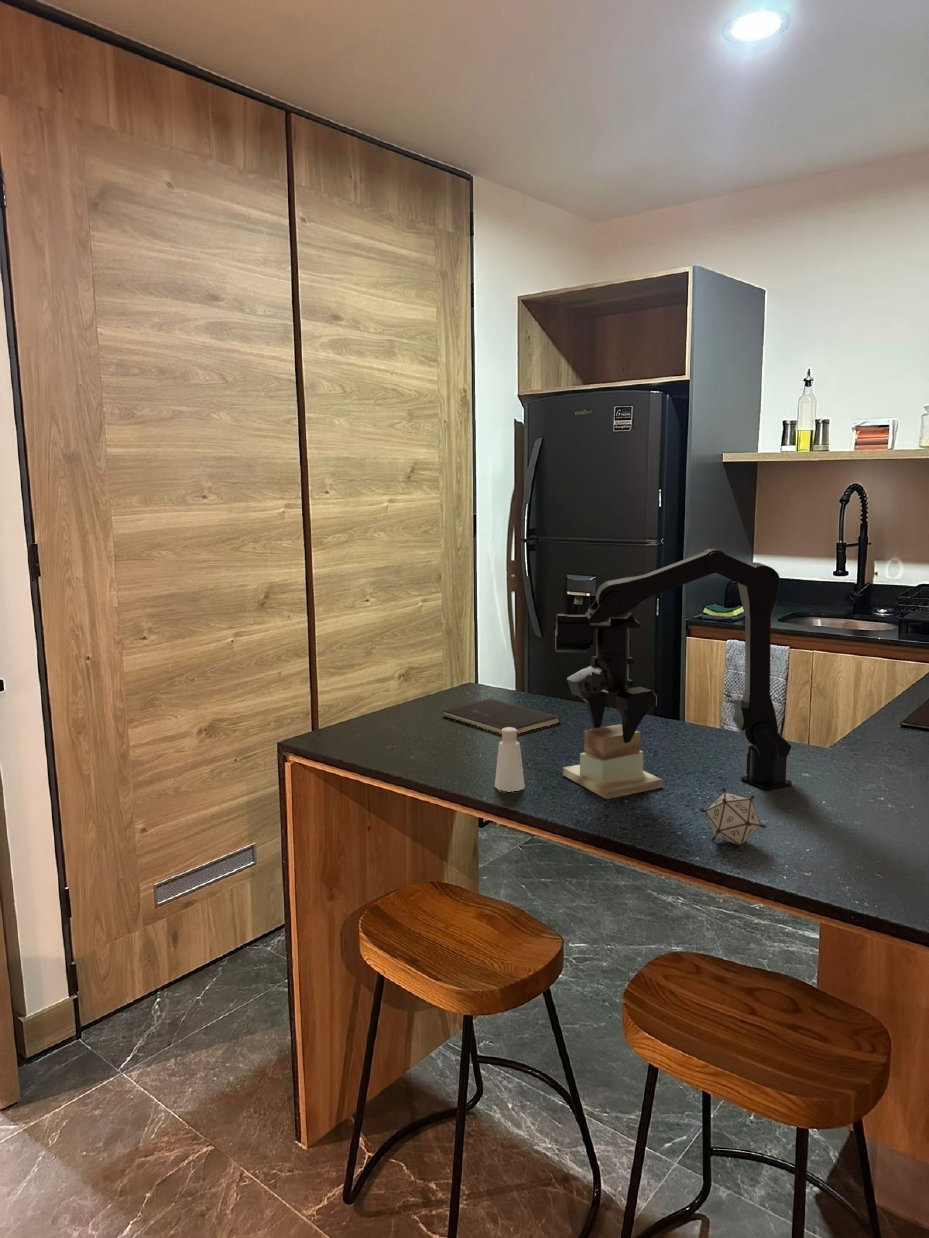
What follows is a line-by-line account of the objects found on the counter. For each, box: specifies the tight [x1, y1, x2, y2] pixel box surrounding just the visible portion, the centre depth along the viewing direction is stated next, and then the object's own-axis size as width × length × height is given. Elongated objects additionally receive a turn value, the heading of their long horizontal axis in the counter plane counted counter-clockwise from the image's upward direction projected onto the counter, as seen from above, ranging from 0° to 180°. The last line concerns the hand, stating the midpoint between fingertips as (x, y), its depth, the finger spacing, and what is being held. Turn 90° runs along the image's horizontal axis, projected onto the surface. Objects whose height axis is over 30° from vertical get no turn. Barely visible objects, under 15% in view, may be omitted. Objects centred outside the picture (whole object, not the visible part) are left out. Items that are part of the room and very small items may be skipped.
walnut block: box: [583, 723, 641, 760], centre depth 159 cm, size 6×8×4 cm
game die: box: [698, 786, 767, 851], centre depth 132 cm, size 9×8×10 cm
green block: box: [579, 750, 644, 784], centre depth 159 cm, size 6×10×4 cm, turn 124°
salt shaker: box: [494, 727, 525, 793], centre depth 157 cm, size 5×5×11 cm
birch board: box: [562, 763, 663, 800], centre depth 160 cm, size 14×12×2 cm
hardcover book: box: [441, 698, 561, 733], centre depth 201 cm, size 16×23×2 cm
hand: (611, 735), depth 159 cm, fingers open, 9 cm apart
